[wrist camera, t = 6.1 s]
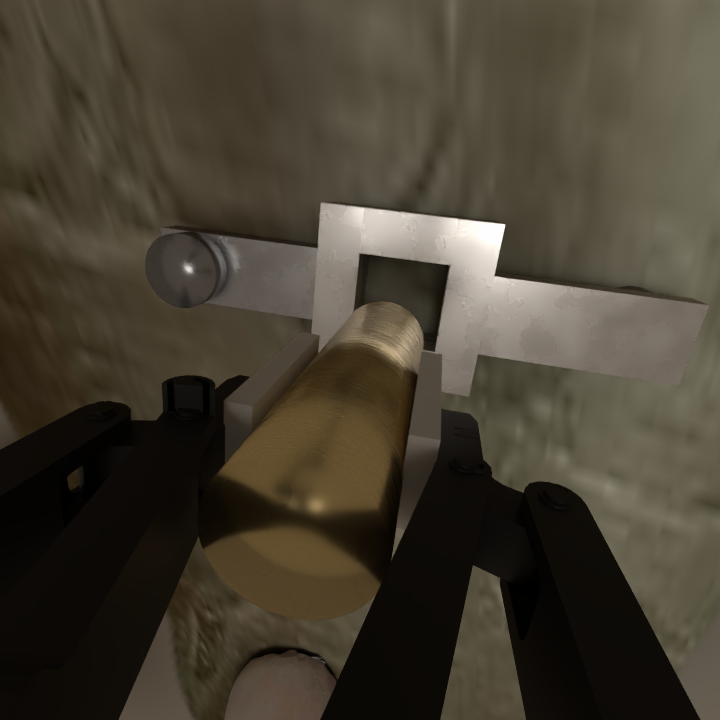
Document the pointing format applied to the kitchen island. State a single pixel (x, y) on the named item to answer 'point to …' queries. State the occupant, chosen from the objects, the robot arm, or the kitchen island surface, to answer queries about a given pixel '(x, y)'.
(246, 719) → the sculpture
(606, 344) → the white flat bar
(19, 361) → the kitchen island surface
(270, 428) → the pin
